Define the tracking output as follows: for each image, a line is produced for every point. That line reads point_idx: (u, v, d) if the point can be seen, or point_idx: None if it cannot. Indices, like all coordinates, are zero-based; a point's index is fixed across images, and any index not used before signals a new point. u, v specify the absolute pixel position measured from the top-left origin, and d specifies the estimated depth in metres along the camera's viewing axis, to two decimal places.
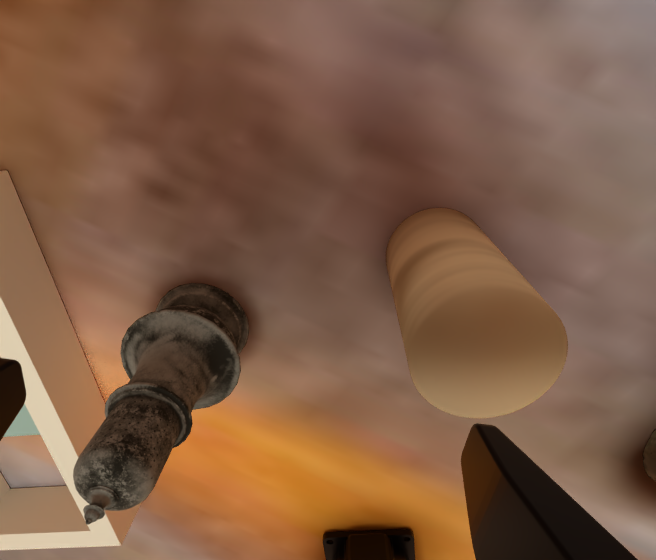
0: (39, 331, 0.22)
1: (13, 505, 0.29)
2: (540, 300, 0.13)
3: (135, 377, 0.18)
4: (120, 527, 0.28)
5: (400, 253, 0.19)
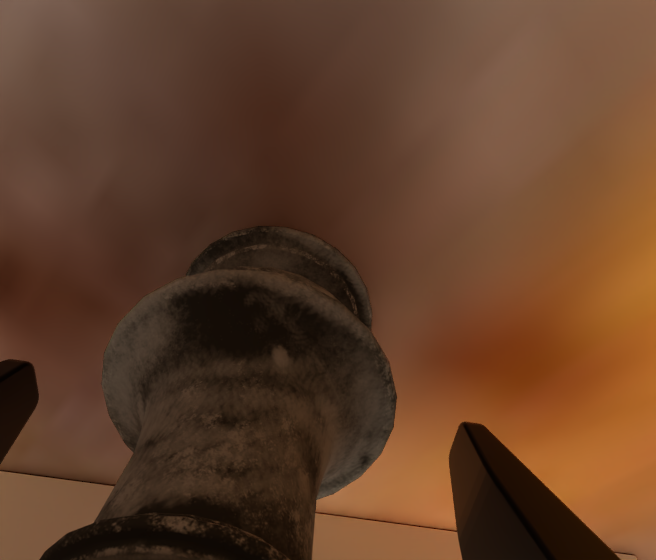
0: None
1: None
2: None
3: None
4: None
5: None
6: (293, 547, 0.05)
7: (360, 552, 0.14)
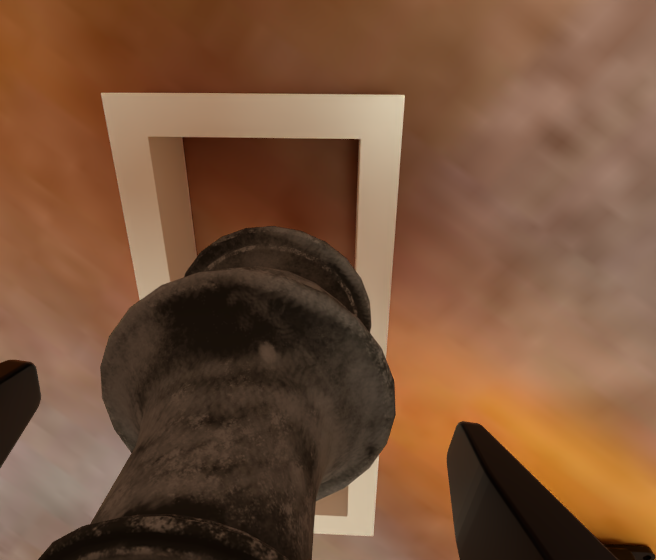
0: None
1: None
2: None
3: None
4: None
5: None
6: (284, 540, 0.05)
7: None
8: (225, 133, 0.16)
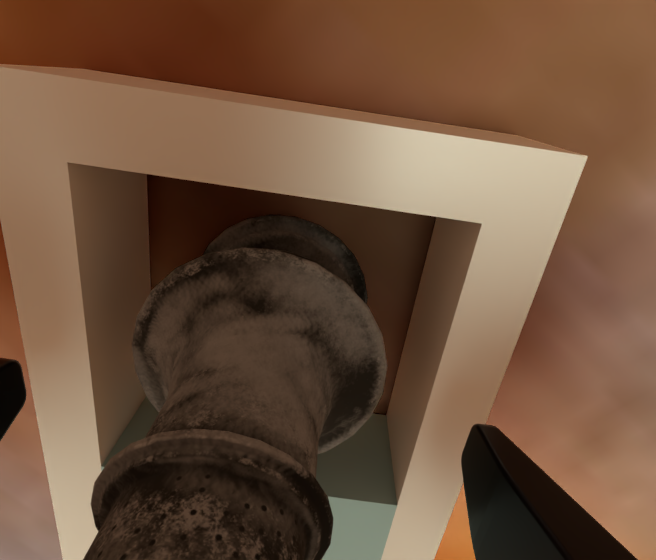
0: None
1: None
2: None
3: (222, 398, 0.07)
4: None
5: None
6: None
7: None
8: (223, 178, 0.08)
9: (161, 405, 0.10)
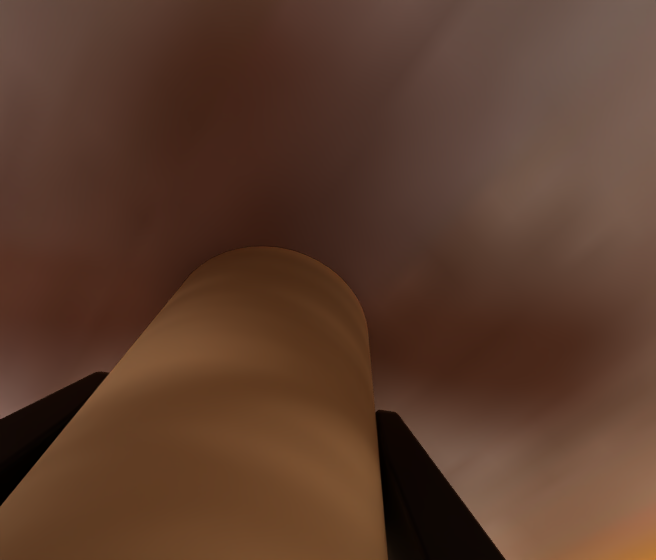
0: None
1: None
2: None
3: None
4: None
5: None
6: None
7: None
8: None
9: None
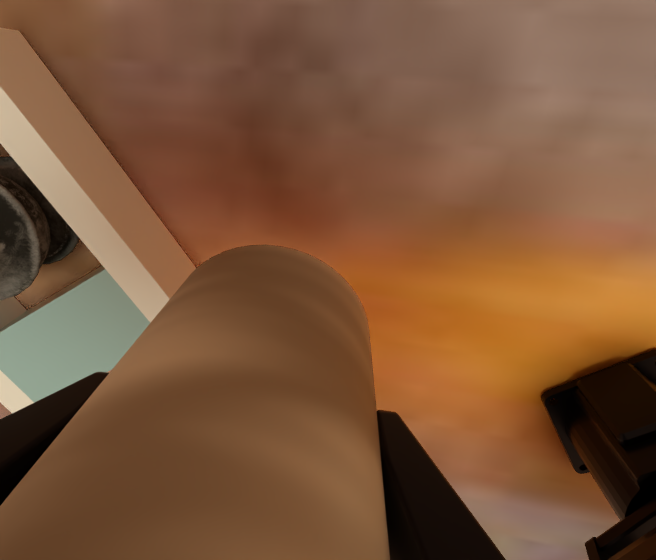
0: (119, 208, 0.18)
1: None
2: None
3: None
4: None
5: None
6: None
7: None
8: None
9: None
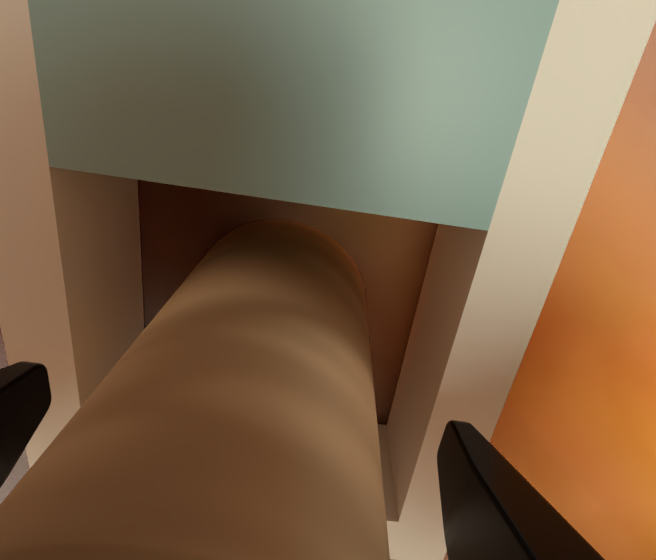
0: None
1: None
2: None
3: None
4: None
5: None
6: None
7: None
8: None
9: None
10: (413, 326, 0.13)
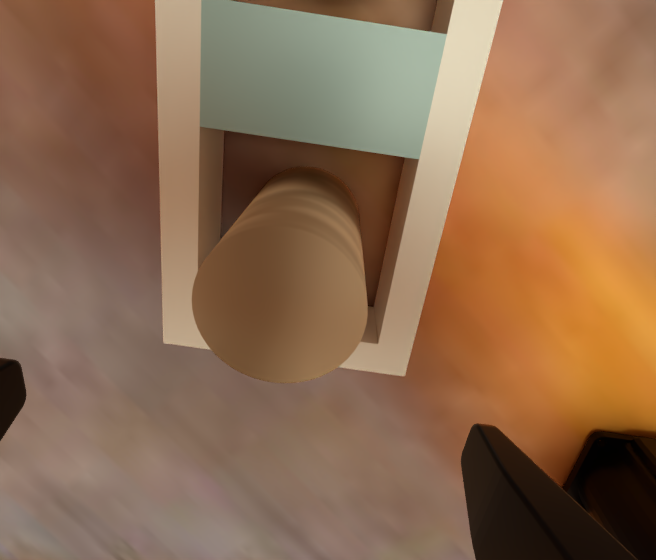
0: None
1: None
2: (212, 251, 0.12)
3: None
4: None
5: None
6: None
7: None
8: None
9: None
10: (389, 235, 0.20)
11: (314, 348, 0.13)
